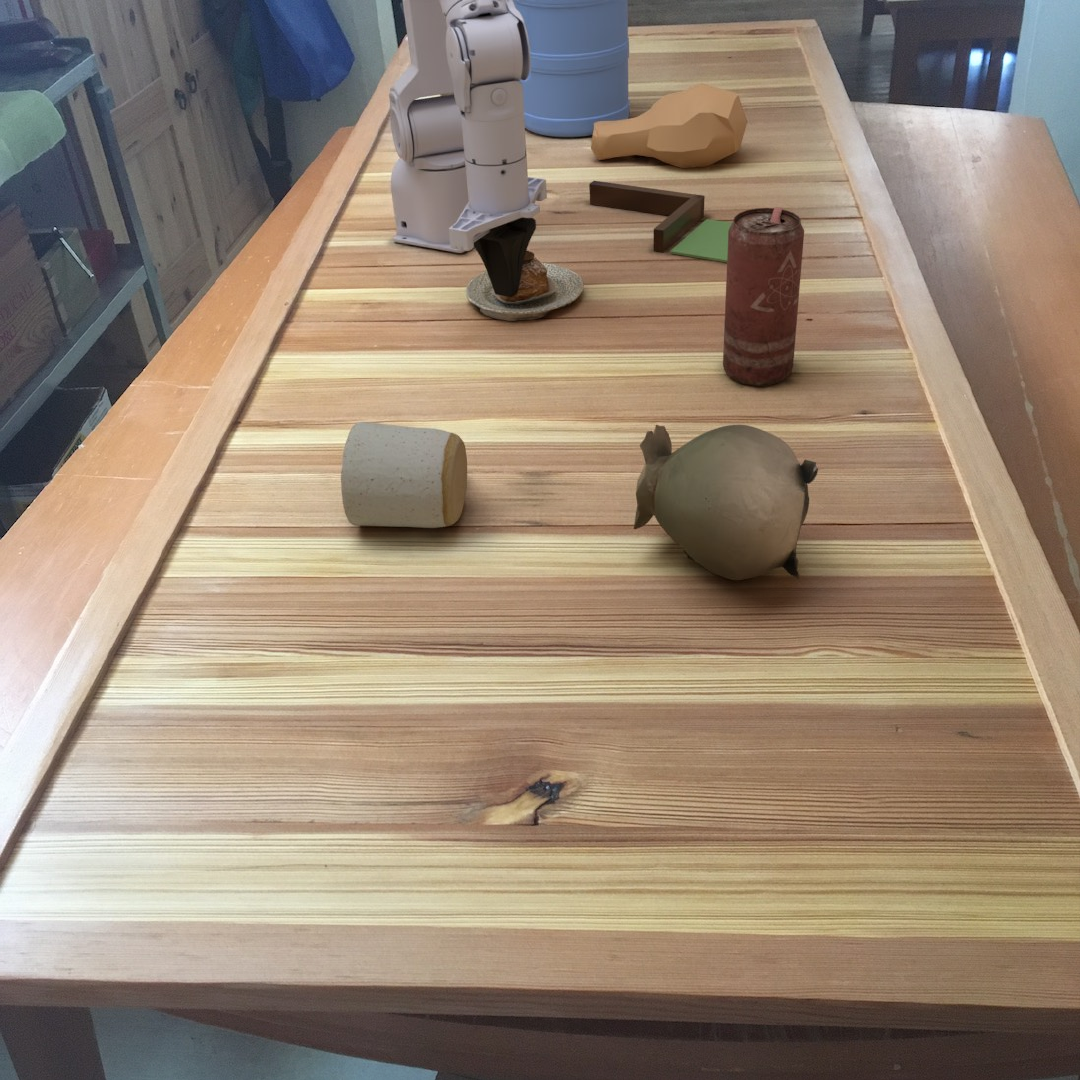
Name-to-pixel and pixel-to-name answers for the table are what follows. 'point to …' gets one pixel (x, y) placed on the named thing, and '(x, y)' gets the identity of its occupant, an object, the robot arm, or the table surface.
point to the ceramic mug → (403, 476)
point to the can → (762, 295)
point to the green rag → (706, 242)
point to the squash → (678, 129)
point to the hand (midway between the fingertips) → (506, 293)
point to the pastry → (527, 291)
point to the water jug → (575, 65)
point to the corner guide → (653, 208)
